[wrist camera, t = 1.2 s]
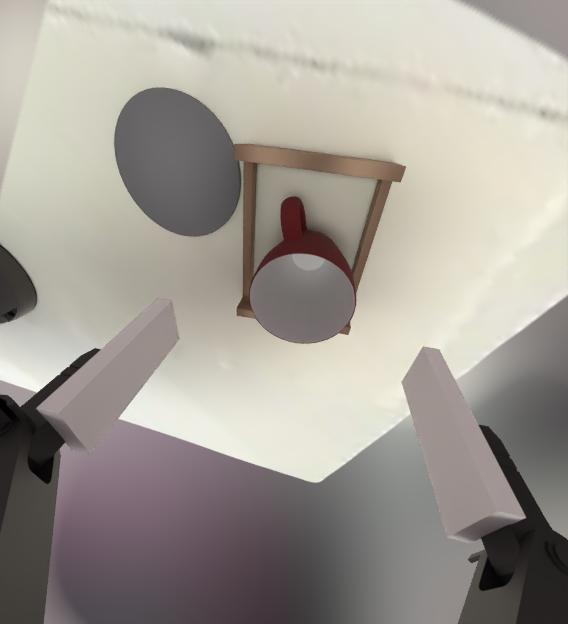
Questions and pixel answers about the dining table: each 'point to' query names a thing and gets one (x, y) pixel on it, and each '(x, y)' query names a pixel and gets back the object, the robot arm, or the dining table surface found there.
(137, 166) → the coaster
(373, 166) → the wooden tray frame
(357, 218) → the dining table surface
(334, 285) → the mug
